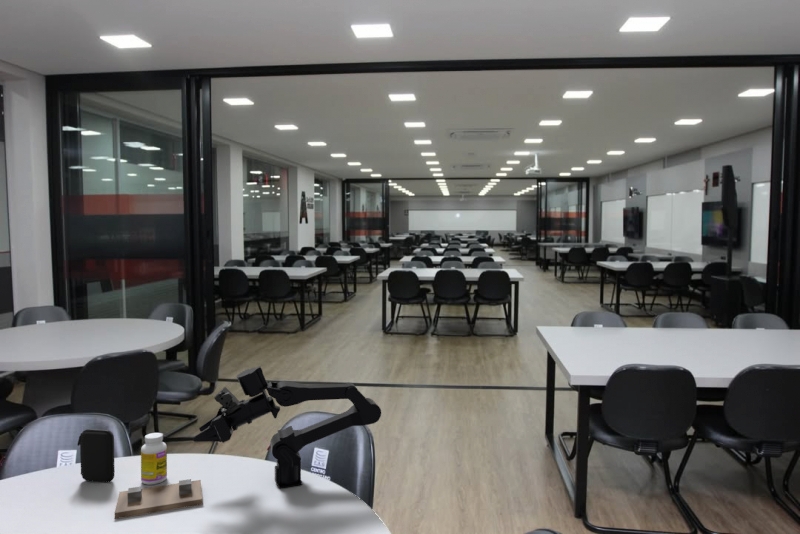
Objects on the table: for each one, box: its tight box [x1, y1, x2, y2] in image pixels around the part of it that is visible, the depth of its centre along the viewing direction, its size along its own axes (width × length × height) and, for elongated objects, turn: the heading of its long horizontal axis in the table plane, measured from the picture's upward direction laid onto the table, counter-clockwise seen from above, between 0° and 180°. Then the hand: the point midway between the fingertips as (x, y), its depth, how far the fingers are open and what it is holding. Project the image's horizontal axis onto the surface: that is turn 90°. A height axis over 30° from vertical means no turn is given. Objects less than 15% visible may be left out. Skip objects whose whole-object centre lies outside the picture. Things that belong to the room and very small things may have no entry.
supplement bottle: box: [140, 432, 168, 485], centre depth 153 cm, size 7×7×13 cm
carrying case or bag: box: [77, 428, 115, 483], centre depth 152 cm, size 11×3×15 cm, turn 83°
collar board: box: [114, 478, 203, 520], centre depth 141 cm, size 20×12×4 cm, turn 112°
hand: (196, 434), depth 146 cm, fingers open, 9 cm apart
